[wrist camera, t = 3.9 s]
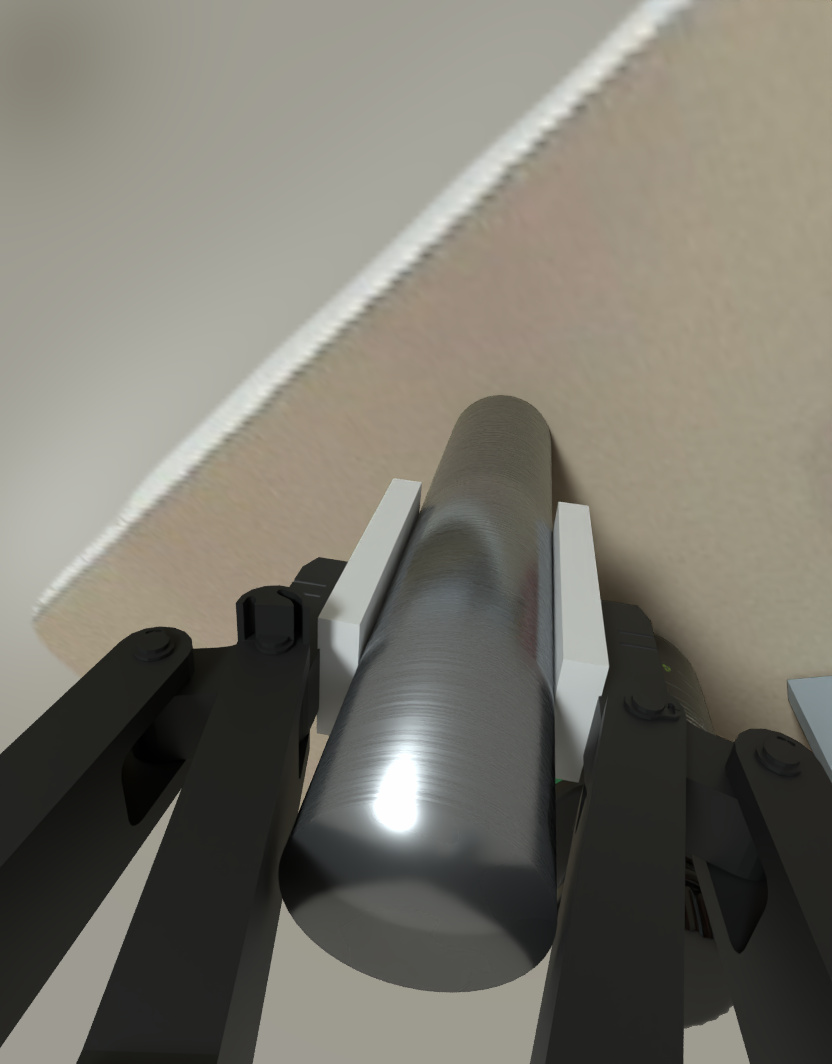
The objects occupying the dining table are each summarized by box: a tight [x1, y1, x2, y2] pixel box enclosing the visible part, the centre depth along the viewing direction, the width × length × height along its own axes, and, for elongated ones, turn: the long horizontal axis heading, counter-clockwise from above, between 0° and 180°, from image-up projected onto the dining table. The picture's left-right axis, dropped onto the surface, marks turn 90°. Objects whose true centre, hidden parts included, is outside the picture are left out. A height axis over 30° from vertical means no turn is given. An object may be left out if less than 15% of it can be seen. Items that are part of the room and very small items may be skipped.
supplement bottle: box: [555, 634, 733, 1028], centre depth 23 cm, size 7×7×12 cm
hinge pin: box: [278, 395, 557, 992], centre depth 16 cm, size 4×4×18 cm
